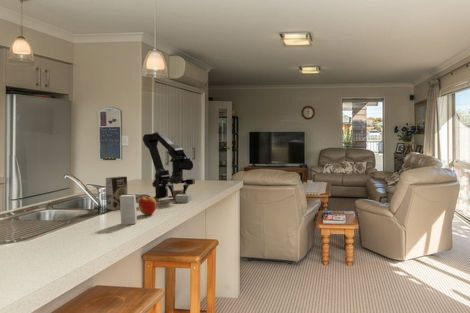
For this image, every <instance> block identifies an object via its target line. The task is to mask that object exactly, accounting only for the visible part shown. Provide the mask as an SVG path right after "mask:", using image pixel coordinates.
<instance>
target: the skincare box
mask: <svg viewBox="0 0 470 313" xmlns="http://www.w3.org/2000/svg"><path fill="white" fill-rule="evenodd" d="M136 198H137V197H136V194H128V195H122V196H120V209H119V210H120V224H121V225H122V226H124V225H136V224H137V223H138V218H137V217H138V216H137V215H138V214H137V199H136Z"/></svg>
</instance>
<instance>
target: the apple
mask: <svg viewBox="0 0 470 313" xmlns="http://www.w3.org/2000/svg"><path fill="white" fill-rule="evenodd" d="M138 209H139V211H140V213H142V214H143V215H153V214H154V213H155V212H156V209H157V200H156V199H155V197H153V196H142V197H140V198H139V201H138Z"/></svg>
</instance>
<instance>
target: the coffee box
mask: <svg viewBox="0 0 470 313" xmlns="http://www.w3.org/2000/svg"><path fill="white" fill-rule="evenodd" d="M105 194H106V196H105V197H106V201H105V202H106V210H112V211H116V210H120V196H122V195H129V194H128V176H111V177H110V176H109V177H105Z"/></svg>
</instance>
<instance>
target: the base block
mask: <svg viewBox="0 0 470 313" xmlns="http://www.w3.org/2000/svg"><path fill="white" fill-rule="evenodd" d="M191 201H192V194H191V193H186V194H178V195H176V199H175V203H176V202H178V203H179V202H181V204H182V203H183V204H184V203H187V204H188V203H190V202H191ZM178 203H177V204H178Z"/></svg>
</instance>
